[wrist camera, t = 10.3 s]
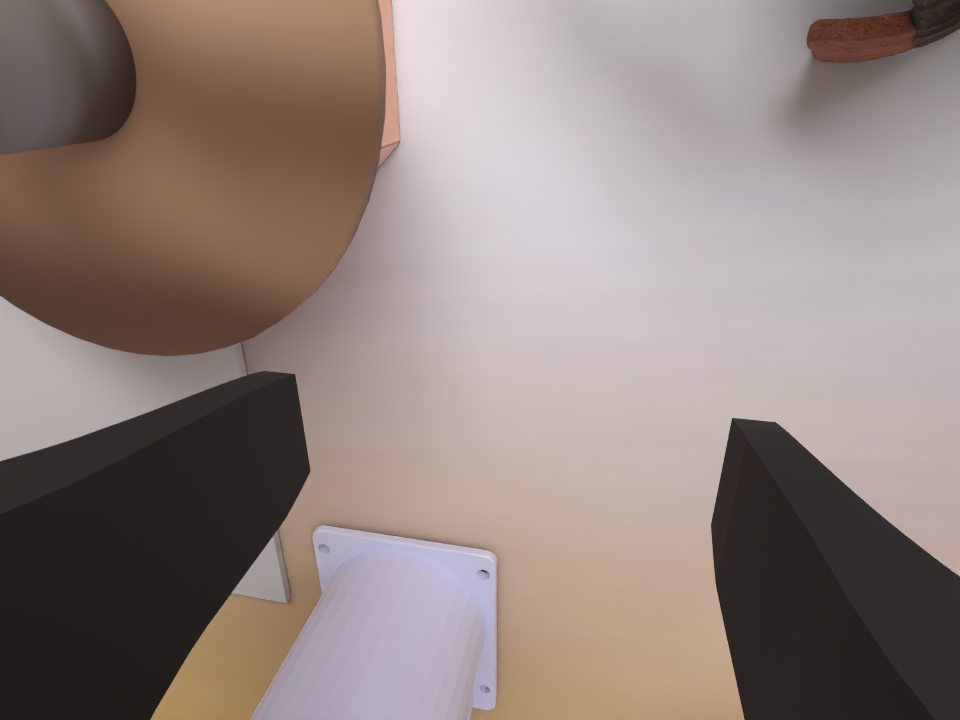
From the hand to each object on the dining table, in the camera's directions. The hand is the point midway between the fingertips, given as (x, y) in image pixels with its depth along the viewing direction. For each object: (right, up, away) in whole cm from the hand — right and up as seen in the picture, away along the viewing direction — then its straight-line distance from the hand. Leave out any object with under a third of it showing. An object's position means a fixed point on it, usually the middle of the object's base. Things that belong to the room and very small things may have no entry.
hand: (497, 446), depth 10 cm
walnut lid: (-10, +9, +4) cm, 14 cm away
